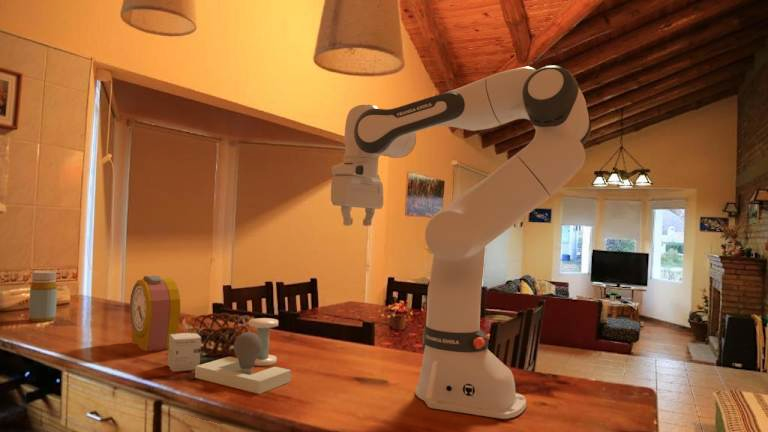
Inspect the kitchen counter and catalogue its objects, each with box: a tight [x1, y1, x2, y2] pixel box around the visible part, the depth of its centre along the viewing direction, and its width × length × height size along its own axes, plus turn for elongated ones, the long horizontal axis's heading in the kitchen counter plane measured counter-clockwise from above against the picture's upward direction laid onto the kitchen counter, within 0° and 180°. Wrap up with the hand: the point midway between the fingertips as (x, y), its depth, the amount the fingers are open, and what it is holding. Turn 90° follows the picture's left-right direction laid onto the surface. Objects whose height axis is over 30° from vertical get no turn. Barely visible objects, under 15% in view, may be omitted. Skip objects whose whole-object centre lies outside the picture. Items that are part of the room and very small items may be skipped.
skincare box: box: [167, 332, 202, 373], centre depth 122 cm, size 6×6×7 cm
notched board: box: [194, 356, 292, 395], centre depth 115 cm, size 18×10×2 cm, turn 62°
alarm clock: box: [129, 275, 181, 352], centre depth 141 cm, size 15×8×18 cm, turn 42°
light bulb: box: [233, 331, 262, 375], centre depth 116 cm, size 6×6×10 cm
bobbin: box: [248, 317, 279, 367], centre depth 130 cm, size 7×7×10 cm
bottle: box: [28, 270, 58, 323], centre depth 164 cm, size 7×7×15 cm
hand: (357, 225), depth 134 cm, fingers open, 8 cm apart
